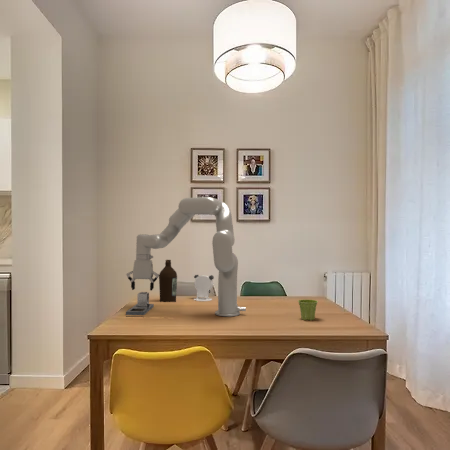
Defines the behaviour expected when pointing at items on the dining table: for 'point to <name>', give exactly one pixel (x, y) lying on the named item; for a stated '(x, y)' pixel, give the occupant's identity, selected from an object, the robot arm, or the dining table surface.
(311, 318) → the plant pot
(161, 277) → the olive oil
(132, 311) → the rail
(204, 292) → the panda figurine
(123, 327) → the dining table surface
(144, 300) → the block
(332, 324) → the dining table surface
